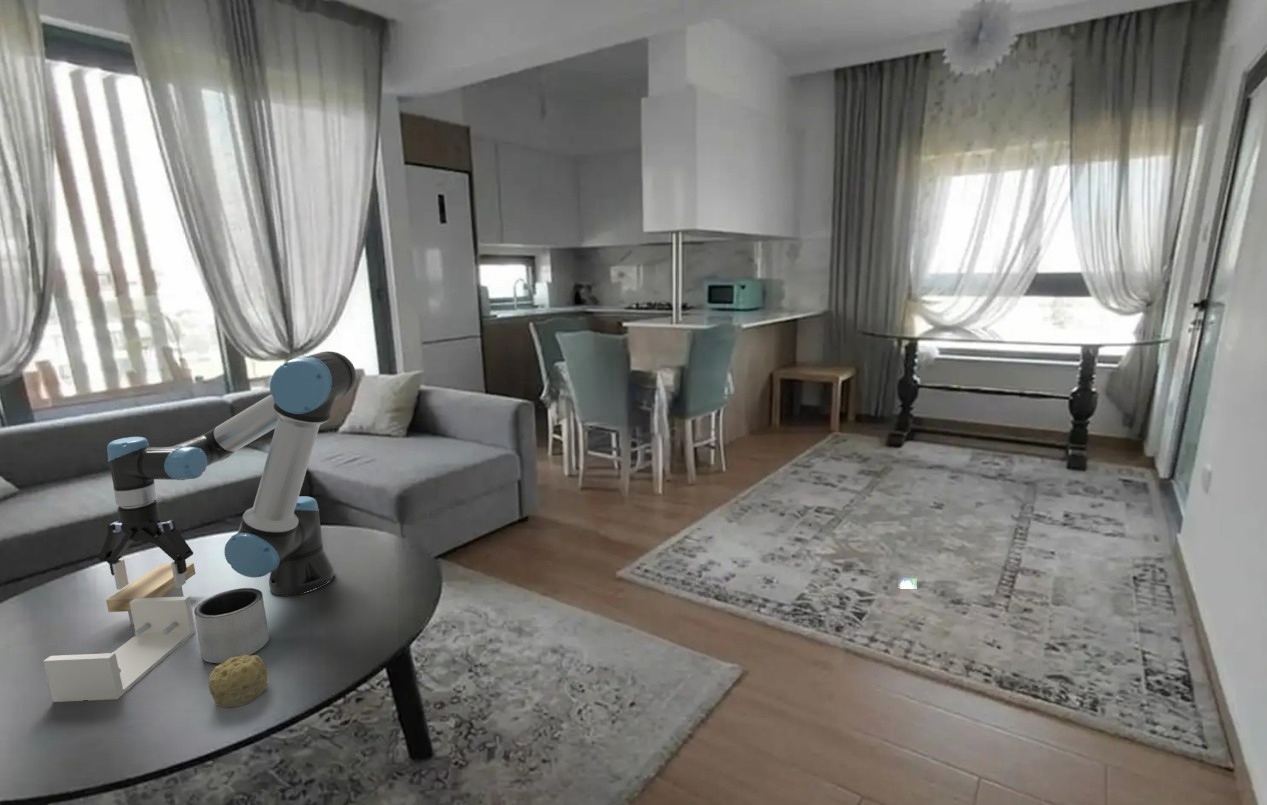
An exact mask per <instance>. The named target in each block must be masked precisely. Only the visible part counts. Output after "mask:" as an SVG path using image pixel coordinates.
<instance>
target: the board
mask: <svg viewBox="0 0 1267 805" xmlns="http://www.w3.org/2000/svg"><path fill="white" fill-rule="evenodd" d="M186 567H187V570H186V572H184V574H185V580H186V581H188V580H189V579H190V578H192V577H193V576H195V575H196V569H195V568H196V567H195V564H194V562H186ZM174 589H175V583H174V577H173V571H172V565H171V563H161V564H160V565H158V566H157V567H155V568H153V569H152V570H150V571H148V572H147V573H145V574H144V575H142V576H141V577H140V578H138V579H137V580H134V582H132V583H130V584H128V585H126V586H125V587H123V588H122V589H120V590H118V592H116V593H115V594H114V595H112V596H111V597H109V598H107V599H106V600H105V602H106V607H107V612H108V613H120V612H121V613H123V612H128V611H131V607H130V603H129V602H131V601H132V600H133V599H137V598H161V597H164V596H166V595H167V594H168V593H170V592H171V591H172V590H174Z"/></svg>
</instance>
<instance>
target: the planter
mask: <svg viewBox="0 0 1267 805" xmlns="http://www.w3.org/2000/svg"><path fill="white" fill-rule="evenodd" d="M193 612H194V617H195V619H194V620H195V624H196V629H197V630H196V631H197V637H198V643H199V650H200V655H201V657H202V658H201V659H203V660H204V661H205V662H206V663H207V662H208V663H211V664H218V665H219V664H221V663H223V662H225V661H226V660H228V659H229V658H231V657H238V656H239V657H240V656H242V655H249V656H252V655H255V654H256V653H257V652H259V651H260V650H261V649H263V647H264V646H265V645H266V644H267V643H268V641H269V640H270V630H269V626H268V619H267V614H266V607H265V604H264V594H263V592H262V591H261V590H260V589H258V588H253V587H241V588H234V589H230V590H226V591H221V592H219V593H217V594H214V595H212V596H210V597H208V598H206V599H204V600H202V601H201V602H200V603H199V604H197V605H196V607H194V611H193Z"/></svg>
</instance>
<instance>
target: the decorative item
mask: <svg viewBox="0 0 1267 805" xmlns="http://www.w3.org/2000/svg"><path fill="white" fill-rule="evenodd" d="M264 662H265V661H264V660H263V659H262V658H261V657H260V656H259V655H258V654H257V655H256V654H252V655H250V656H249V655H242V656H240V657H239V656H238V657H231V658H229V659H228V660H226V661H225V662H223V663H221V664H218V665H216V666H215V667H214V668H213V670H212V671H211V673H210V675H209V677H208V689H209V691H210V692H209V694H210V695H211V696H212V699H213V700H214V704H215V705H216V706H218V707H220V708H226V709H230V708H232V709H233V708H237V707H240V706H244V705H247V704H251V703H252V701H253V700H254V699H255V698H257V697H258V696H260V695H261V694H262V693H263V692H265V691H267V689H268V688H269V684H268V672H267V667H266V666H265V663H264Z"/></svg>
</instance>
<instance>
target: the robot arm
mask: <svg viewBox="0 0 1267 805" xmlns="http://www.w3.org/2000/svg"><path fill="white" fill-rule="evenodd" d="M356 380H357V371H356V368H355V366H354V364H353V362H352V361H351V360H350V359H349V358H348V357H346V356H345V355H344V354H342V353H339V352H336V351H332V350H331V351H326V350H325V351H321V352H318V353H317V352H316V353H313V354H310V355H303V356H297V357H296V356H295V357H293V358H291V359H289V360H288V361H285V362H283V363H282V364H280V365H279V366H278V367H277V368H276V369H275V371H274V372H273V373H272V376H271V378H270V382H269V392H270V394H269V395H267V396H266V397H264V398H262V399H261V400H259V401H257V402H255V403H254V404H253V405H250V406H249V407H247V408H246V409H244V410H242V411H241V412H238V413H237V414H236V415H234V416H232V417H231V418H229V419H227V420H225V421H223V422H222V423H220V424H218V425H217V426H215V427H214V428H212V429H210V430H208V431H207V432H205V433H203V434H201V435H198V436H197V437H194V438H191V439H188V440H186V441H183V442H181V443H178V444H175V445H172V446H171V445H170V446H162V447H161V446H159V447H158V446H157V447H156V446H150V444H149V442H148V439H147V438H146V437H142V436H129V437H122V438H118V439H115V440H112V441H110V442H109V443H108V444H107V447H106V448H107V462H108V466H109V471H110V473H111V479H112V484H113V485H112V486H113V493H114V499H115V504H116V506H117V509H116V510H117V514H118V520H116V521H114V522H112V523H109V524H108V525H107V527H106V528H107V534H106V538H105V540H104V543H103V546H102V549H101V551H100V554H99V557H98V561H99V562H101V563H102V562H106V563H107V564H108V565H109V569H110V574H111V575H112V576H114V582H115V587H116V590H118V591H121V590H122V589H124V588H126V587H127V586H129V580H128V573H127V567H126V562H125V559H122V557H123V555H124V554H125V552H126V551H127V550H128V549H129V547H130V546H131V544H132V543H133V542H134V543H138V542H146V543H147V542H149V543H151V544H154V545H156V546H157V547H158V548H159V549H160V550H162V551H163V553H165V554H166V555H167V556H168V557H169V558H170V559H171V560H173V561H172V562H171V563H170V564H171V565H172V571H173V577H174V583H175V588H179V587H181V586H182V587H183V585H185V584H186V583H187V580H185V574H184V572H186V570H187V567H186V563H187V562H186V560H187V559H189V558H190V557H191V556H193V555H194V551H193V550H192V548H191V547H190V546H189V544H188V543H187V541H186V540H185V539H184V537H183V536H182V535H181V533H180V531H179V530H178V528H177V526H176V524H175V520H173V519H169V520H168V521H165V522H164V521H163V522H161V520H160V518H159V517H160V507H159V506H160V505H159V501H158V500H156V499H158V498H157V497H158V496H157V490H156V484H155V480H171V481H173V480H174V481H186V480H195V479H198V478H200V477H201V476H202V475H203V473H204V472H206V470H207V467H209V466H210V465H213V464H215V463H218V462H222V461H223V460H226V459H227V458H229V457H230V456H232V455H234V453H235V452H236V451H239V450H240V449H242V448H243V447H245V446H247V445H248V444H251V443H252V442H253V441H256V440H257V439H259V438H260V437H262V436H264V435H265V434H267V433H269V432H271V431H272V430H274V431H273V432H274V433H273V436H272V438H271V443H270V446H269V449H268V453H267V456H266V461H265V462H264V463H265V464H264V467H263V471H262V474H261V478H260V481H259V485H258V488H257V491H256V496H255V498H254V502H253V506H252V507H250V508H248V509H246V510H245V511H244V513H243V514H242V517H241V521H240V525H239V528H238V532H237V533H235V534H233V535H231V537H230V538H229V539H228V541H227V542H226V543H225V546H224V550H223V552H224V557H225V560H226V562H227V564H229V565H230V567H231V569H232V570H234V571H235V572H236V573H238V574H240V575H242V576H244V577H247V578H254V579H255V578H256V579H257V578H261V577H265V576H267V575H268V574H270V575H269V579H268V587H269V591H270V592H271V593H272V594H274V595H276V596H281V595H284V596H286V595H291V596H296V595H295V594H299V595H302V594H301V593H304V592H307V591H310V590H313V589H315V588H318V587H320V586H322V585H324V584H326V583H327V582H328V581H330V580H331V579H332V577H333V576H334V577H335V570H334V566H333V564H332V562H331V560H330V559H329V557H328V555H327V552H325V550H324V545H323V535H322V527H321V520H320V509H319V506H318V502H317V499H315V498H314V497H311V496H306V495H304V496H303V495H302V496H300V494H301V489H302V487H303V483H304V481H305V476H306V473H307V470H308V468H309V467H308V466H309V463H310V460H311V456H312V453H313V450H314V446H315V443H316V439H317V437H318V433H319V430H320V427H321V425H323V424H325V423H327V422H329V420H330V418H331V414H332V411H333V408H334V405H335V401H336V400H339V399H341V398H343V397H344V396H346V395H347V394H349V393H351V391H352V390H353V388H354V386H355V384H356ZM121 531H122V532H123V533H124V536H123V537H122V539H121V540H120V543H119V544H118V545H117V543H118V540H119V537H120V535H121V533H122V532H121ZM332 580H333V579H332ZM332 580H331V581H332ZM331 581H330V582H331ZM326 585H327V584H326ZM304 594H305V593H304Z"/></svg>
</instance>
